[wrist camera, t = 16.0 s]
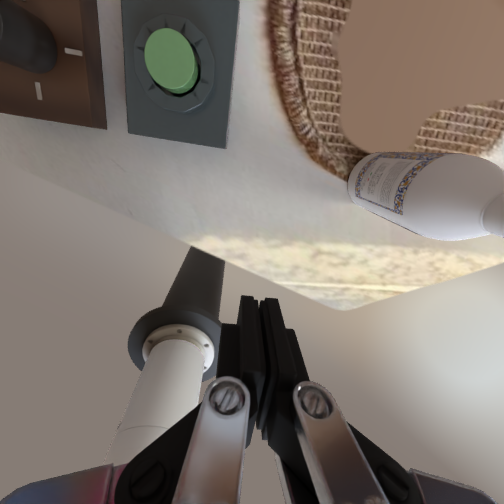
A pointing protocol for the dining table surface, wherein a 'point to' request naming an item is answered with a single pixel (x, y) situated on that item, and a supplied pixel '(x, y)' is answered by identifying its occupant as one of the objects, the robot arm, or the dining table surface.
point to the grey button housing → (209, 70)
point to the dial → (25, 39)
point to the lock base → (61, 69)
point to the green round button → (171, 60)
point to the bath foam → (432, 193)
